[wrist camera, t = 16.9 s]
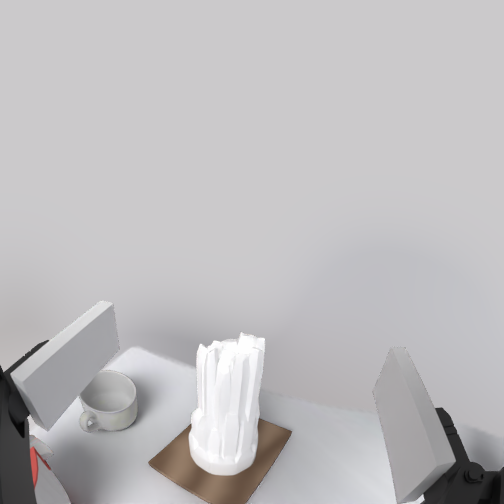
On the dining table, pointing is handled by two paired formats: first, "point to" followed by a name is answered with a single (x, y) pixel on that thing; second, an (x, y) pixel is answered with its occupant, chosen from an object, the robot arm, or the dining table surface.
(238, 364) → the decorative vase
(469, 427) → the dining table surface
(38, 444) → the citrus juicer
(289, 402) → the dining table surface
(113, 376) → the teacup
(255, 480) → the board
